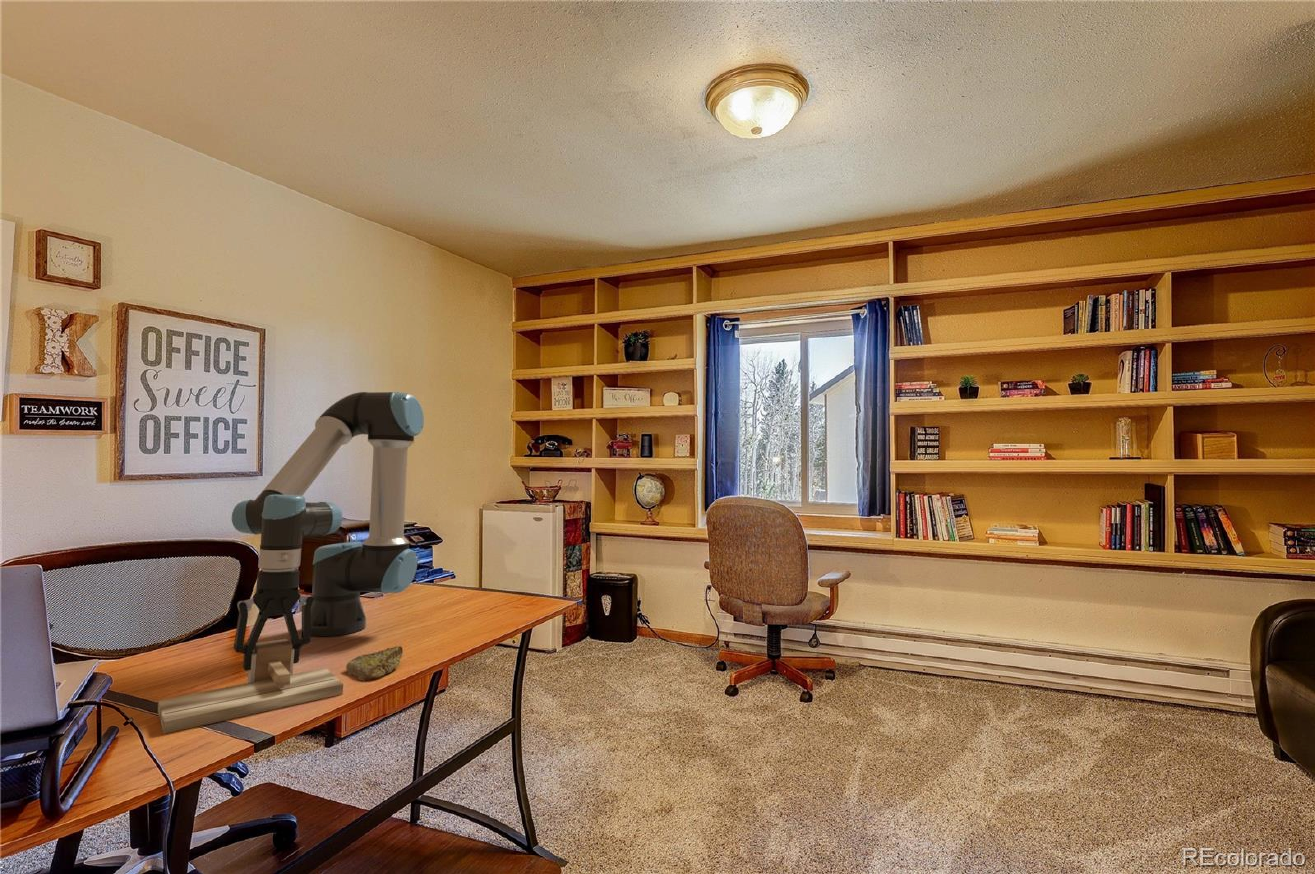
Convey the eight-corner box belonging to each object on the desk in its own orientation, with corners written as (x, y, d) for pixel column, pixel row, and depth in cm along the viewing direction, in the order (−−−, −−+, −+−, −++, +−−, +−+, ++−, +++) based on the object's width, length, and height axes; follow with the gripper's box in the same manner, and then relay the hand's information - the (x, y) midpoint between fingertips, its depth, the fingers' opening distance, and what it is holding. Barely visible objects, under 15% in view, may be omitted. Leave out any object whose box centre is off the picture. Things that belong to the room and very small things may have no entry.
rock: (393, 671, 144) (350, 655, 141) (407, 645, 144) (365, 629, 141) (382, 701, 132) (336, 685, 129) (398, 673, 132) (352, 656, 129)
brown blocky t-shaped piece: (250, 682, 127) (253, 643, 128) (283, 677, 131) (286, 639, 132) (264, 705, 116) (267, 661, 117) (300, 698, 120) (303, 656, 121)
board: (157, 711, 113) (158, 700, 113) (325, 677, 132) (326, 667, 132) (163, 734, 104) (164, 721, 104) (342, 694, 123) (343, 683, 123)
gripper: (227, 574, 120) (216, 697, 118) (333, 568, 132) (325, 679, 131) (221, 569, 125) (211, 686, 124) (324, 564, 138) (316, 670, 136)
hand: (269, 682), depth 127 cm, fingers closed on brown blocky t-shaped piece, 6 cm apart
